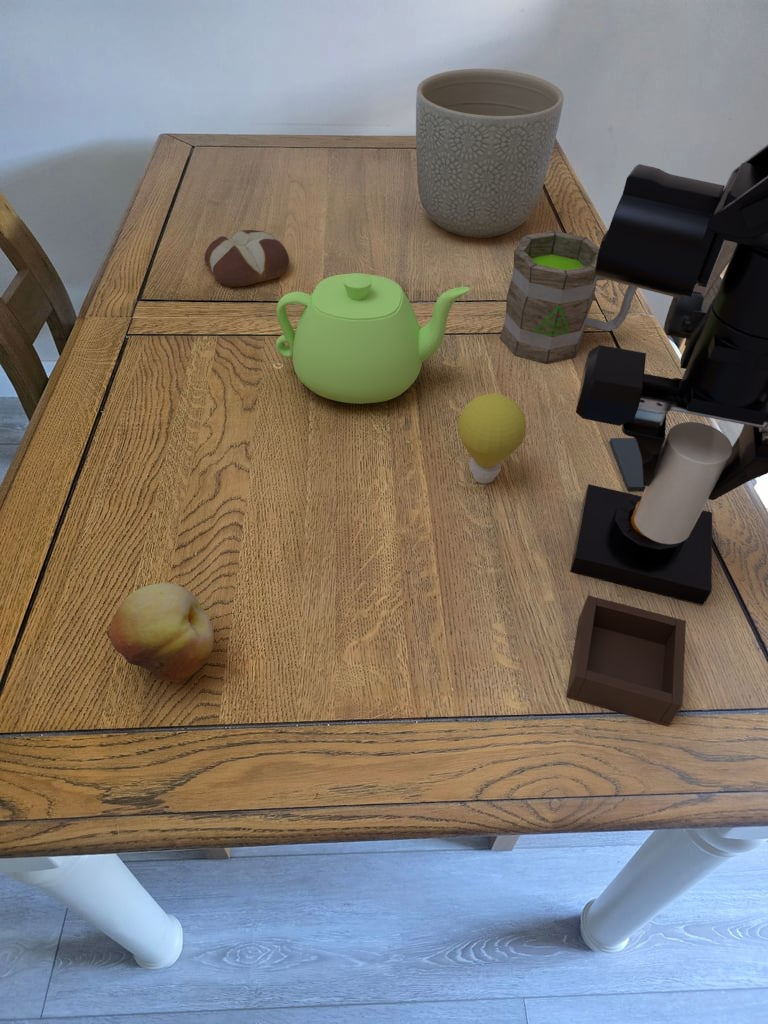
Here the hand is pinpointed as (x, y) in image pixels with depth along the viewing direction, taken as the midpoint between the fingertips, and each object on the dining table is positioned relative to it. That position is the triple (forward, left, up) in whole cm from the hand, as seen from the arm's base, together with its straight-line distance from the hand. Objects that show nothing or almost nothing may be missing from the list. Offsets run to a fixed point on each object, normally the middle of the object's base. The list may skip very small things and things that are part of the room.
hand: (678, 489), depth 55 cm
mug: (+12, -38, -13) cm, 42 cm away
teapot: (+33, -22, -13) cm, 42 cm away
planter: (+30, -67, -13) cm, 75 cm away
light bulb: (+16, -10, -13) cm, 23 cm away
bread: (+58, -41, -13) cm, 72 cm away
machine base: (0, -5, -13) cm, 14 cm away
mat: (-1, -18, -13) cm, 22 cm away
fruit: (+36, +20, -13) cm, 44 cm away
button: (0, -5, -9) cm, 11 cm away
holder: (0, +9, -13) cm, 16 cm away
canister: (0, 0, -4) cm, 4 cm away
